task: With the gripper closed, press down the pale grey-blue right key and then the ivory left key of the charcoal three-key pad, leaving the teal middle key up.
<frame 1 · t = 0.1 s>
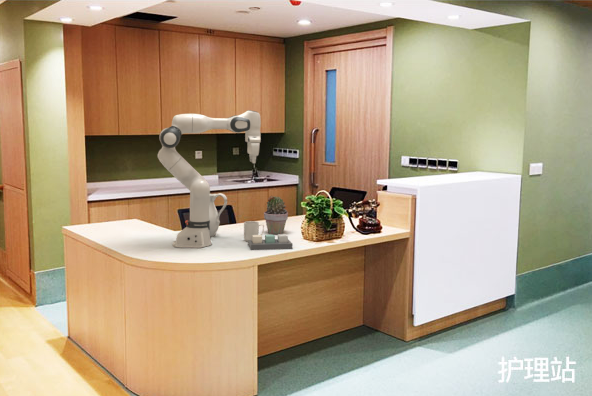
hand: (252, 162, 346), 48 cm above the table, fingers open, 8 cm apart
key right: (282, 238, 345), point 5 cm above the table, slide at 0.0 cm
key mid: (269, 238, 343), point 5 cm above the table, slide at 0.0 cm
key left: (257, 239, 341), point 5 cm above the table, slide at 0.0 cm
potted plant: (276, 232, 385), on the table
pitcher: (210, 236, 370), on the table
mug: (253, 240, 360), on the table
keypad: (269, 246, 344), on the table
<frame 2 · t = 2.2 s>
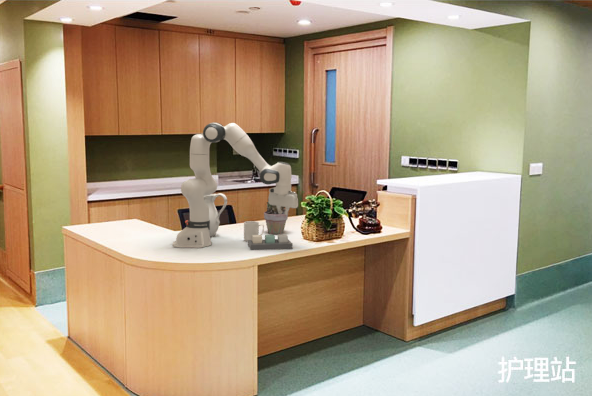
hand: (283, 214, 343), 19 cm above the table, fingers open, 3 cm apart
nothing on the table moved.
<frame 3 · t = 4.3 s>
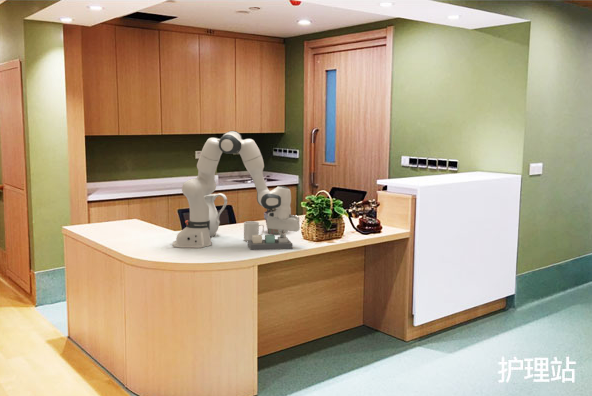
hand: (282, 237, 345), 5 cm above the table, fingers closed, pressing on key right
key right: (282, 240, 345), point 3 cm above the table, slide at 1.4 cm, touching gripper
everything else where it was.
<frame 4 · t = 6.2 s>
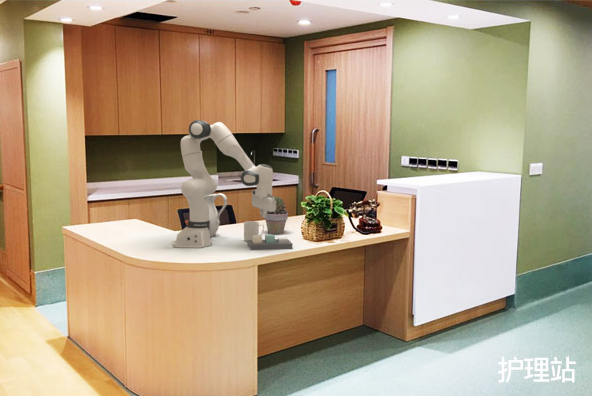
hand: (263, 216, 341), 18 cm above the table, fingers closed
key right: (282, 241, 345), point 3 cm above the table, slide at 1.9 cm
everything else where it was.
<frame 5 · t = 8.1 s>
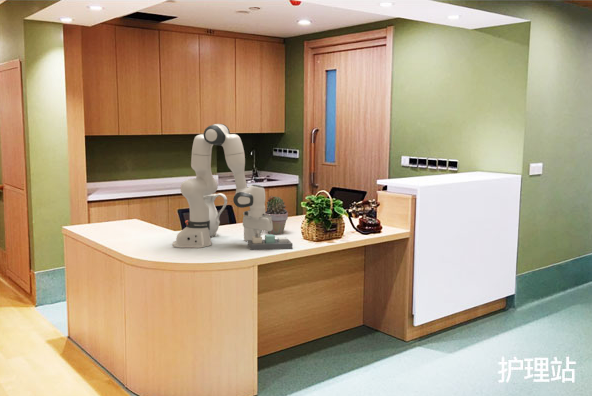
hand: (257, 237, 341), 6 cm above the table, fingers closed
key left: (257, 240, 342), point 4 cm above the table, slide at 0.7 cm, touching gripper
everything else where it was.
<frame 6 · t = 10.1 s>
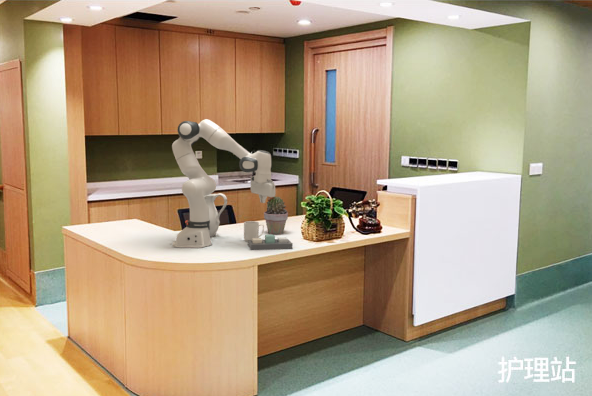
hand: (262, 202, 343), 25 cm above the table, fingers closed
key left: (257, 242, 342), point 3 cm above the table, slide at 1.9 cm
everything else where it was.
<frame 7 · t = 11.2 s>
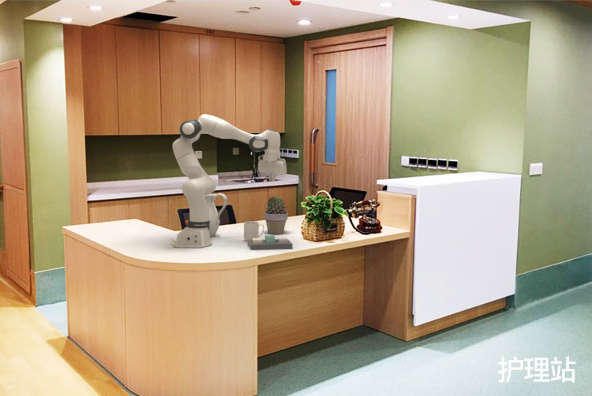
hand: (272, 181, 348), 37 cm above the table, fingers closed
nothing on the table moved.
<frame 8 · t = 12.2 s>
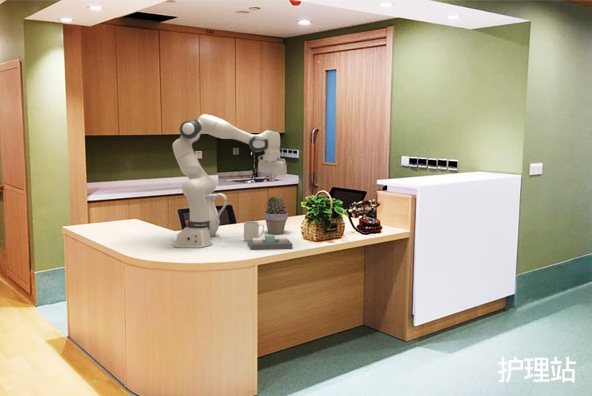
hand: (272, 181, 348), 37 cm above the table, fingers closed
nothing on the table moved.
at the end: key right slide at 1.9 cm; key left slide at 1.9 cm; key mid slide at 0.0 cm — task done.
